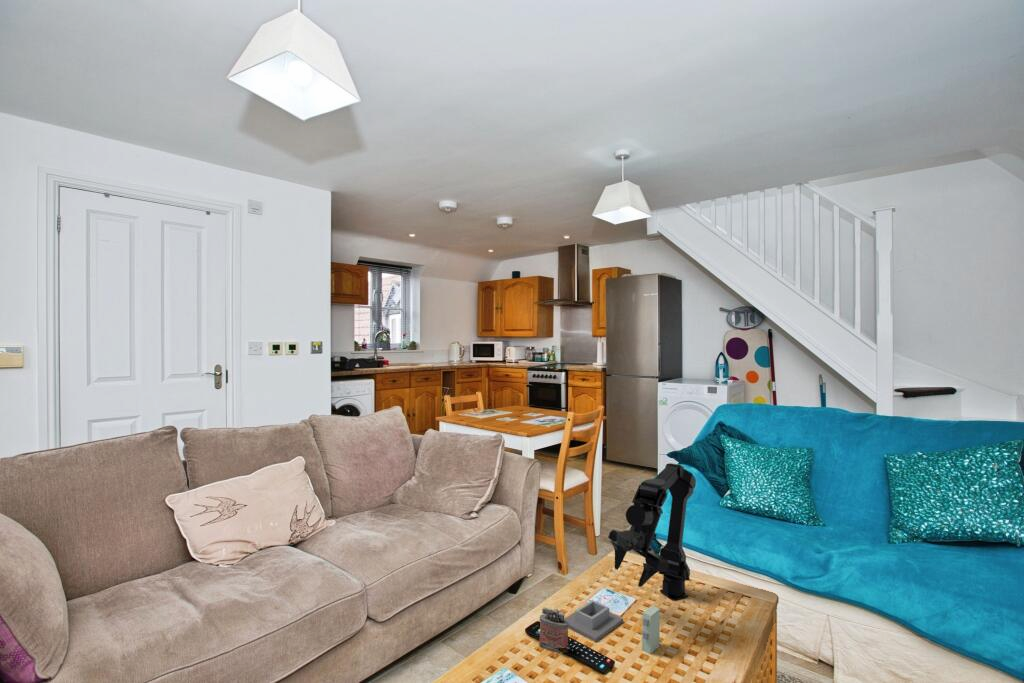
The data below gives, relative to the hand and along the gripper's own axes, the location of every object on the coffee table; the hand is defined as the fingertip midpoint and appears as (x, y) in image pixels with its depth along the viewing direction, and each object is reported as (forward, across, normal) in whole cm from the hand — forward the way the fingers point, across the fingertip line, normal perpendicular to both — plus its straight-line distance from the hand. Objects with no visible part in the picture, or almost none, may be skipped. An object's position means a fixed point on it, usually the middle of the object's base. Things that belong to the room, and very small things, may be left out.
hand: (627, 577), depth 142 cm
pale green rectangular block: (+12, +13, +1) cm, 18 cm away
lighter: (+21, -1, -19) cm, 28 cm away
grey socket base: (+16, -4, -3) cm, 17 cm away
